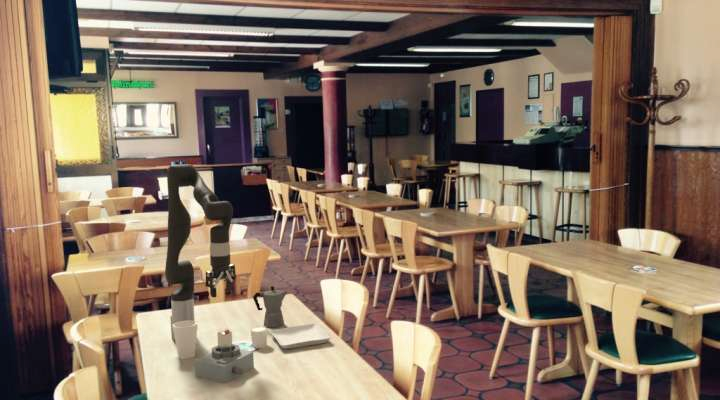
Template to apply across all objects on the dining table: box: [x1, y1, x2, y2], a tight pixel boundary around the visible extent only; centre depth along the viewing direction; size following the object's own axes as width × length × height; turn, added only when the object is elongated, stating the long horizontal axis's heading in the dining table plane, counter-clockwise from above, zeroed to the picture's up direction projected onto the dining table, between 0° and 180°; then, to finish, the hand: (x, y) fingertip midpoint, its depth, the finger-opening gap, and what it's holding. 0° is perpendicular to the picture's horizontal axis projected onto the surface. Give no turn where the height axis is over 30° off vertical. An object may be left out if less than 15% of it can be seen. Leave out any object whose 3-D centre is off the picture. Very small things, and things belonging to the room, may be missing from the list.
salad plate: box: [269, 323, 331, 350], centre depth 264 cm, size 21×21×3 cm
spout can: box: [217, 329, 233, 352], centre depth 233 cm, size 5×5×9 cm
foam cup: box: [173, 320, 198, 360], centre depth 248 cm, size 10×9×13 cm
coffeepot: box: [252, 285, 288, 329], centre depth 285 cm, size 15×9×18 cm, turn 103°
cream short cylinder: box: [249, 326, 268, 349], centre depth 259 cm, size 7×7×7 cm
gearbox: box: [194, 343, 255, 384], centre depth 231 cm, size 17×16×8 cm
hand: (221, 294), depth 243 cm, fingers open, 8 cm apart
